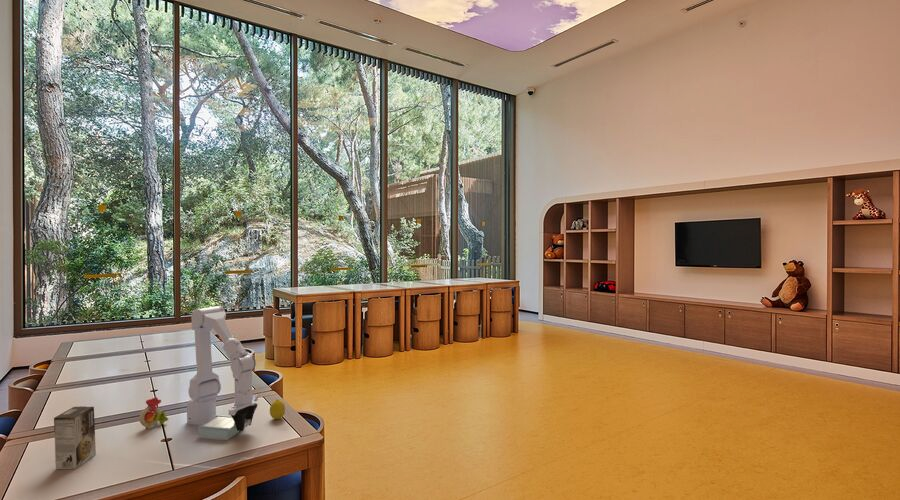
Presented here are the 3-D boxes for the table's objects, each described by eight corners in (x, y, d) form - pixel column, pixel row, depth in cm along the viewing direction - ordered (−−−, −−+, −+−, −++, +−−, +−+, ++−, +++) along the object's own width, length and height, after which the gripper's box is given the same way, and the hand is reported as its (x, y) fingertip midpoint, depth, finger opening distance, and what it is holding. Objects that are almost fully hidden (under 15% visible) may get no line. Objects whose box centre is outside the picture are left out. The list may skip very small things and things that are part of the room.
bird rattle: (154, 435, 173) (174, 417, 180) (141, 412, 168) (162, 394, 176) (142, 433, 175) (162, 415, 182) (129, 410, 170) (150, 392, 178)
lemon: (280, 423, 179) (279, 402, 179) (266, 422, 180) (266, 401, 180) (287, 417, 184) (287, 397, 184) (274, 416, 185) (274, 396, 185)
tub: (198, 439, 165) (198, 426, 165) (216, 427, 175) (216, 415, 175) (227, 441, 164) (227, 428, 163) (244, 429, 173) (244, 417, 173)
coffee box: (75, 455, 153) (73, 406, 152) (96, 454, 154) (95, 405, 153) (54, 469, 144) (52, 417, 143) (76, 469, 144) (75, 416, 144)
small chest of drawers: (202, 428, 166) (202, 423, 166) (218, 418, 174) (218, 414, 174) (240, 431, 164) (240, 426, 163) (254, 421, 172) (254, 416, 172)
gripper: (241, 397, 159) (242, 437, 160) (265, 383, 174) (265, 420, 174) (222, 396, 161) (223, 435, 161) (247, 382, 175) (247, 418, 176)
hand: (244, 427), depth 168 cm, fingers closed on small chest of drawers, 4 cm apart
